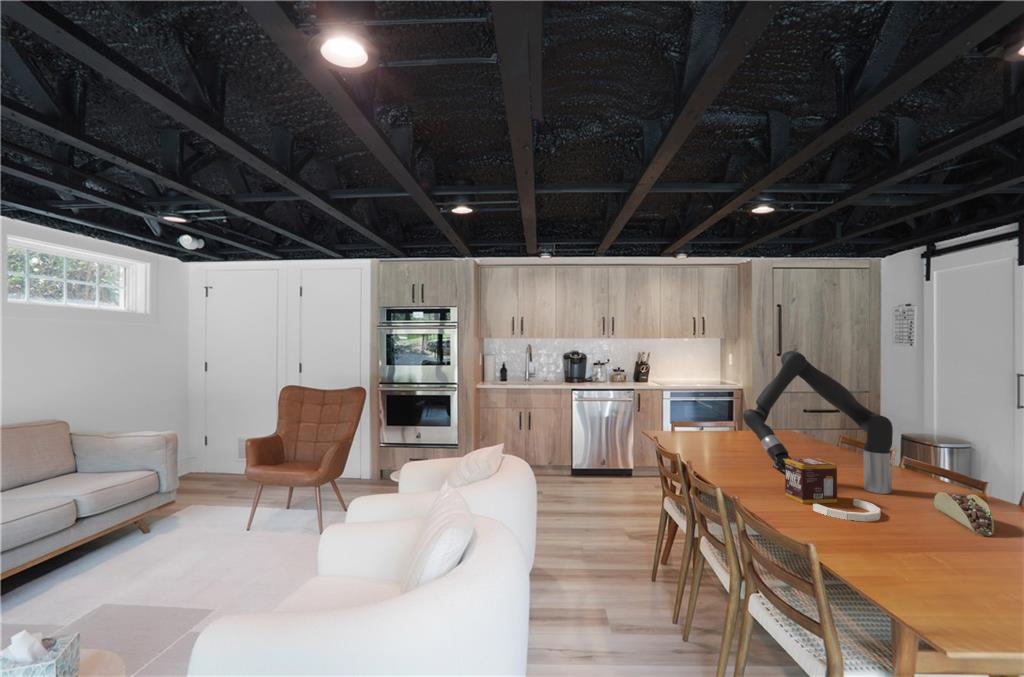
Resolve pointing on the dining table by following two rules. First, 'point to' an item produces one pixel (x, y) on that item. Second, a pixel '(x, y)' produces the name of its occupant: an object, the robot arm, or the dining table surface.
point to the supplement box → (811, 480)
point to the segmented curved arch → (867, 516)
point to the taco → (967, 512)
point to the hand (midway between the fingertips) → (798, 482)
